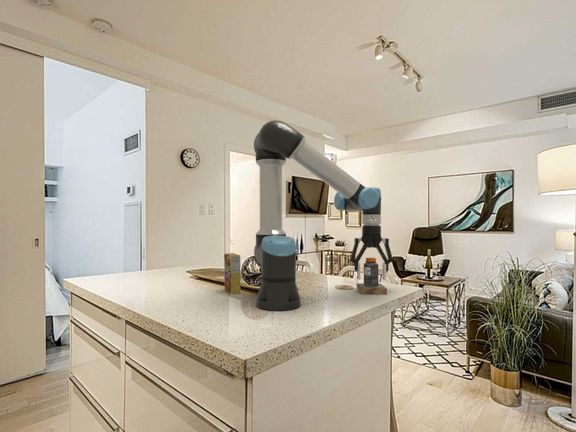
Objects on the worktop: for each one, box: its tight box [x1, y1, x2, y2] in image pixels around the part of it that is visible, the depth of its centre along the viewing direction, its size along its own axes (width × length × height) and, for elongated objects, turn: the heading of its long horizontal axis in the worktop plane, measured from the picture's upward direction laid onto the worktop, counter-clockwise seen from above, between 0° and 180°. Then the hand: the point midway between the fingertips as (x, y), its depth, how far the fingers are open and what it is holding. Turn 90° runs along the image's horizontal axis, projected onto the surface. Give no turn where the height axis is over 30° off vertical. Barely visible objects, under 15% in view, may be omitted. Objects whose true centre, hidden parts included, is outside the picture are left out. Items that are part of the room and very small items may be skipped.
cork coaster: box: [334, 284, 354, 291], centre depth 144 cm, size 8×8×1 cm
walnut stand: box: [356, 282, 388, 296], centre depth 136 cm, size 10×10×3 cm
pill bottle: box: [363, 257, 380, 287], centre depth 136 cm, size 6×6×11 cm
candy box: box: [223, 252, 241, 295], centre depth 134 cm, size 9×4×15 cm, turn 28°
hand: (371, 279), depth 136 cm, fingers open, 10 cm apart
